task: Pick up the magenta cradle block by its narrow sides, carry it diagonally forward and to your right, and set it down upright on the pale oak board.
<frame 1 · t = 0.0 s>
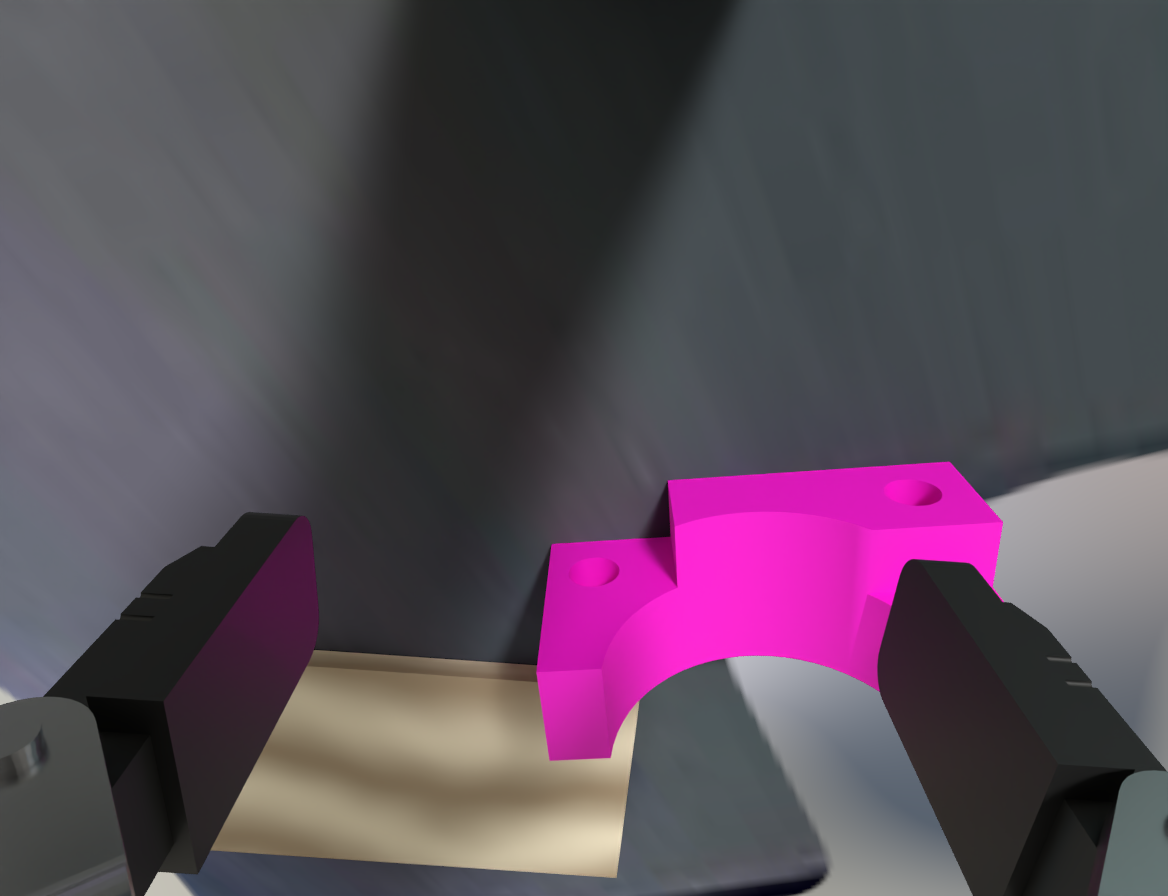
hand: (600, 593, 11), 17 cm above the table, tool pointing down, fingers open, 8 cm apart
oak board: (410, 757, 36), on the table
magenta cradle block: (742, 540, 31), on the table
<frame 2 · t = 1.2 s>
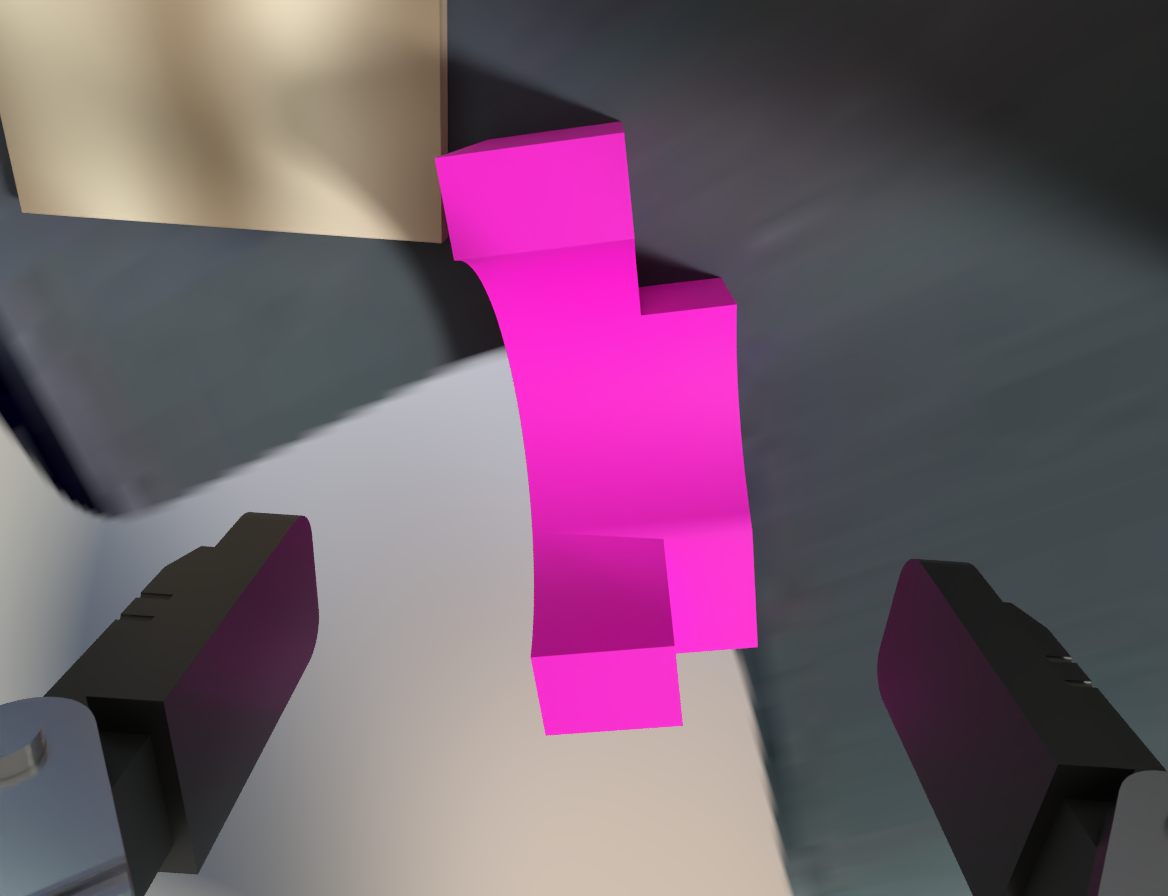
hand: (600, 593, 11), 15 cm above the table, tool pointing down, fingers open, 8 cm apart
magenta cradle block: (626, 373, 25), on the table
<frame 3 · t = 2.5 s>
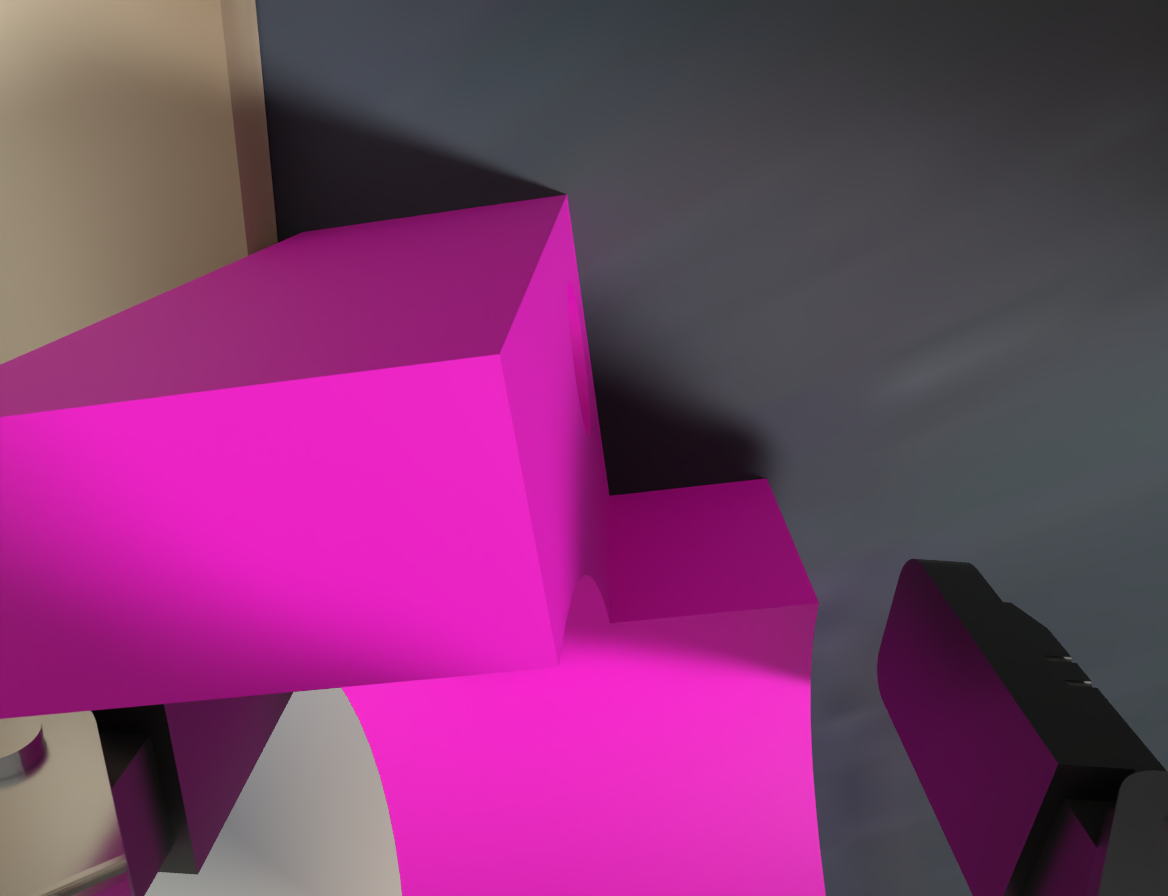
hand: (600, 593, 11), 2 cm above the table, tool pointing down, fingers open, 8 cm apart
magenta cradle block: (594, 628, 14), on the table, touching gripper
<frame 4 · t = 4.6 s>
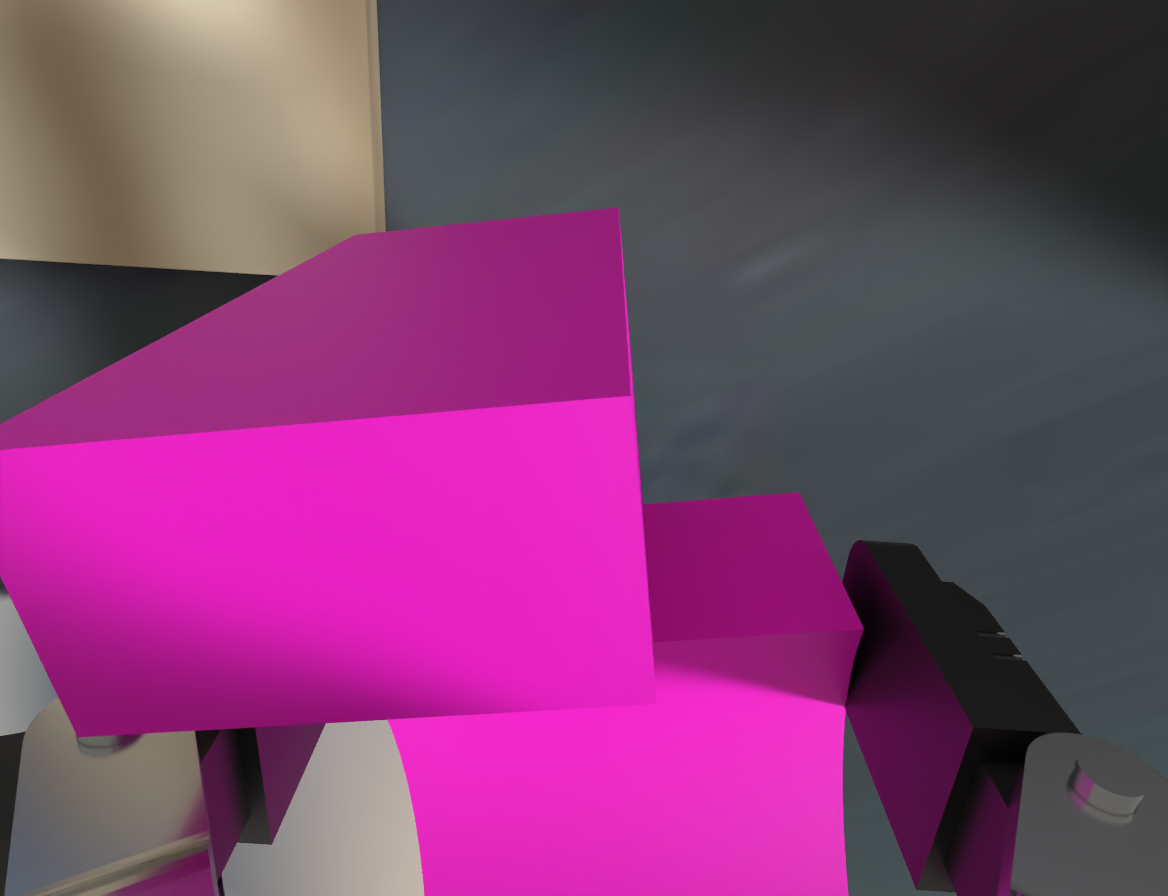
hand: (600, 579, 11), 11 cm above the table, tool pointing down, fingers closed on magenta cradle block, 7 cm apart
magenta cradle block: (619, 640, 14), point 9 cm above the table, touching gripper
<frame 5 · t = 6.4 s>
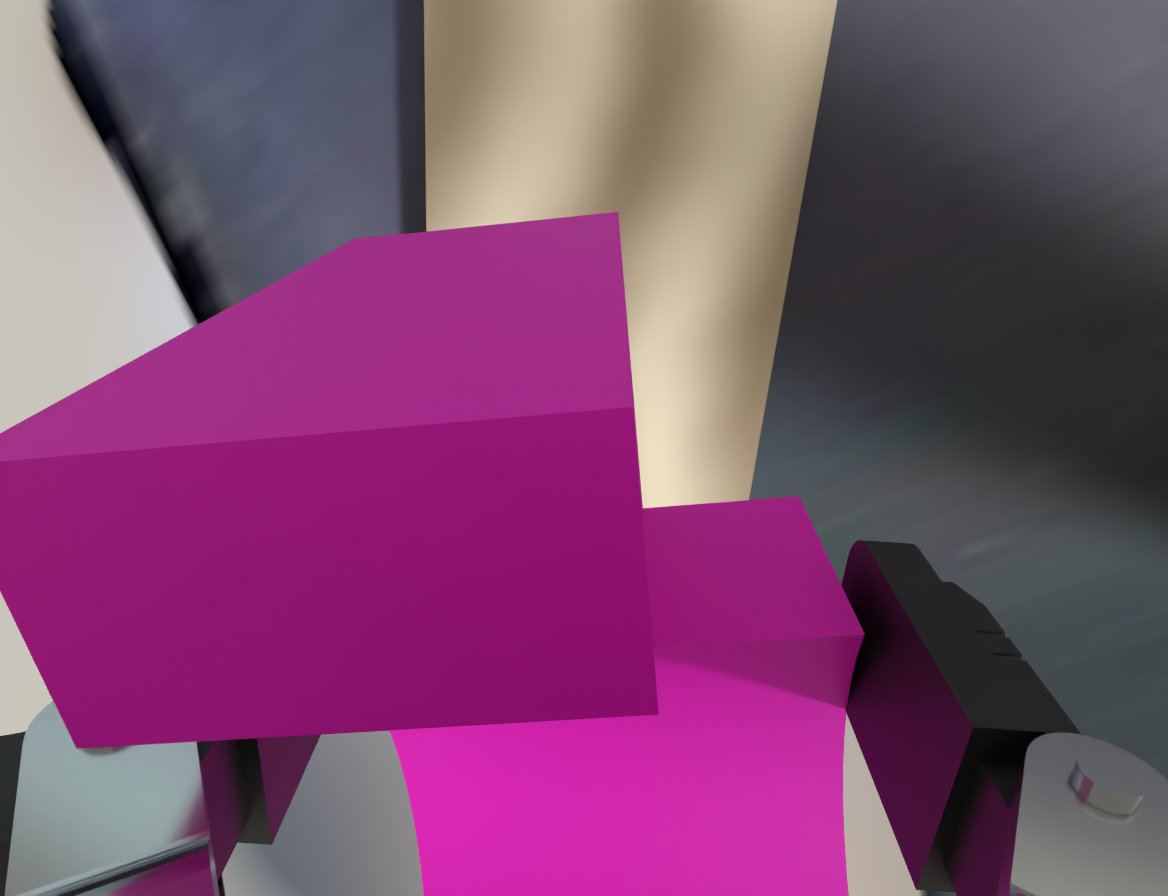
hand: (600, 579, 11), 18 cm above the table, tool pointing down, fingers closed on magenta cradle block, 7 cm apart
oak board: (605, 287, 27), on the table
magenta cradle block: (619, 644, 14), point 16 cm above the table, touching gripper
when the fingers open (4 cm above the table, at t = 10.0 s): magenta cradle block drops 1 cm, resting on oak board.
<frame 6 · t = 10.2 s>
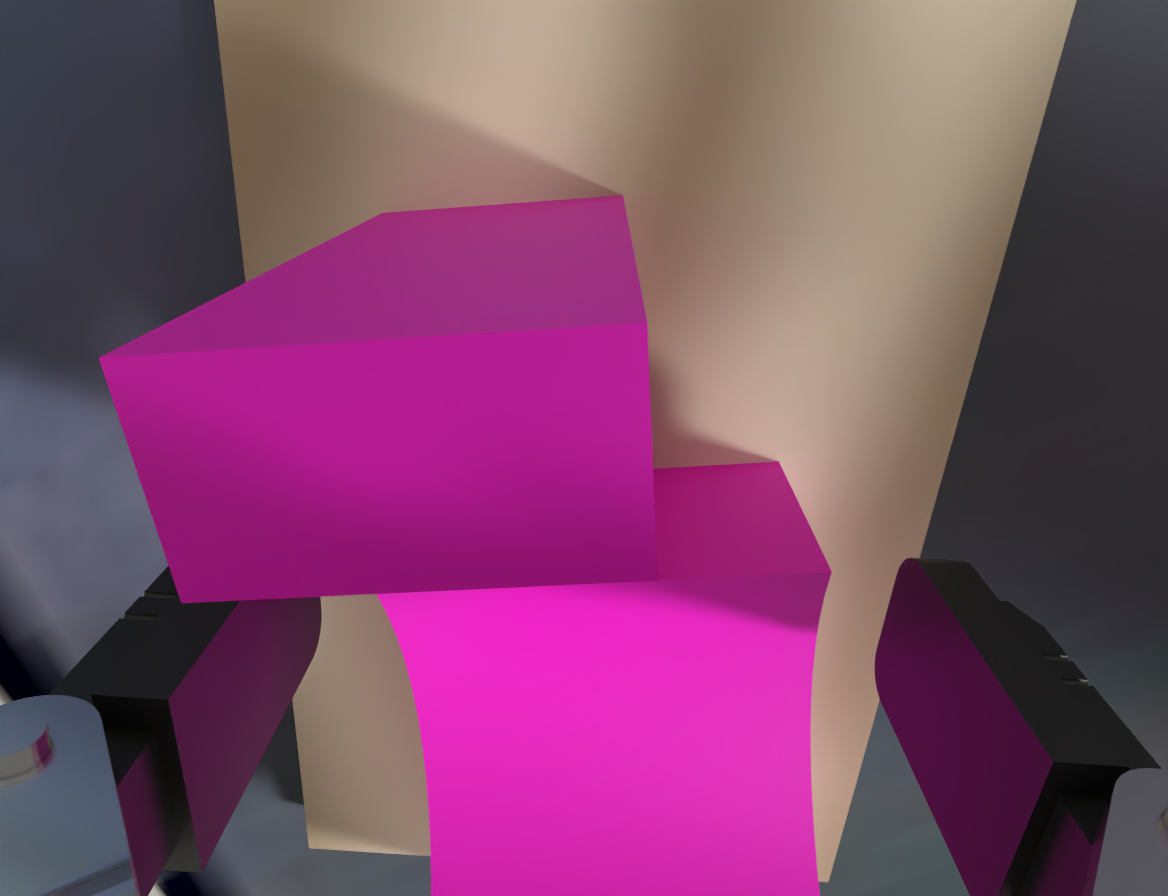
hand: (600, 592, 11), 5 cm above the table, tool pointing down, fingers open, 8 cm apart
oak board: (601, 453, 15), on the table
magenta cradle block: (610, 597, 15), point 1 cm above the table, touching oak board
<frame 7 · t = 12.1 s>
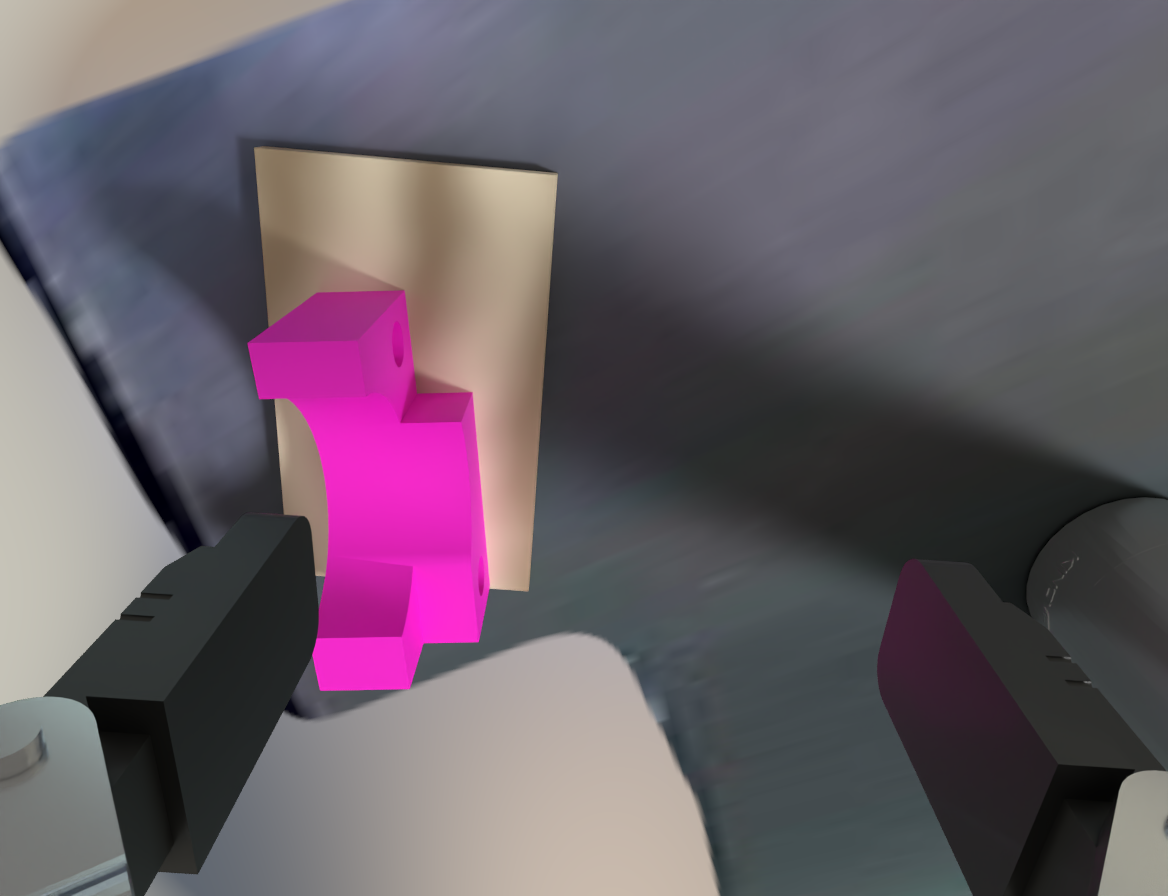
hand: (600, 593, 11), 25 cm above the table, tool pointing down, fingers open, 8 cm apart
oak board: (412, 388, 36), on the table
magenta cradle block: (411, 449, 37), point 1 cm above the table, touching oak board
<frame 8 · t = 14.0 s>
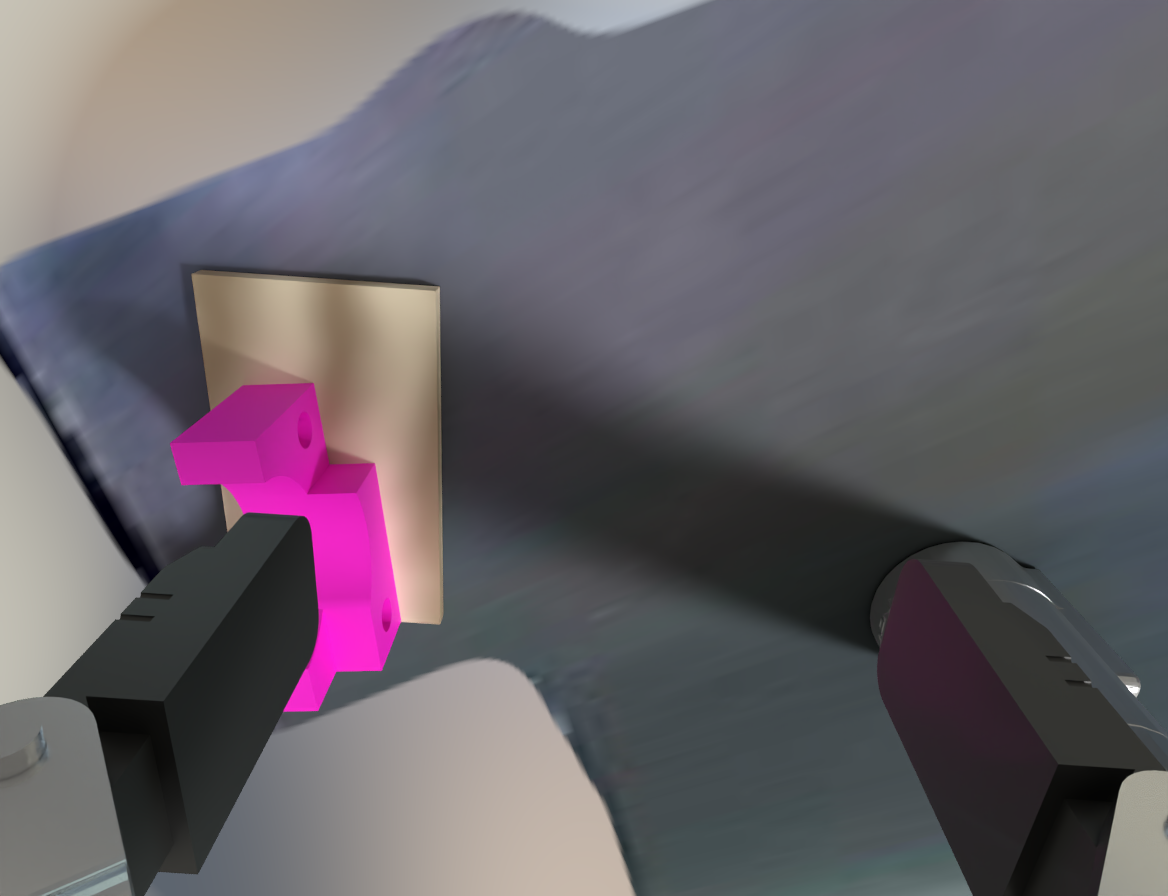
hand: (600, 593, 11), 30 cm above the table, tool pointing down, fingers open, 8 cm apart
oak board: (333, 458, 43), on the table
magenta cradle block: (328, 508, 44), point 1 cm above the table, touching oak board
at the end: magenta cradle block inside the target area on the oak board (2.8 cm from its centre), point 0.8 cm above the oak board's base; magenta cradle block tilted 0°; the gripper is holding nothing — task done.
